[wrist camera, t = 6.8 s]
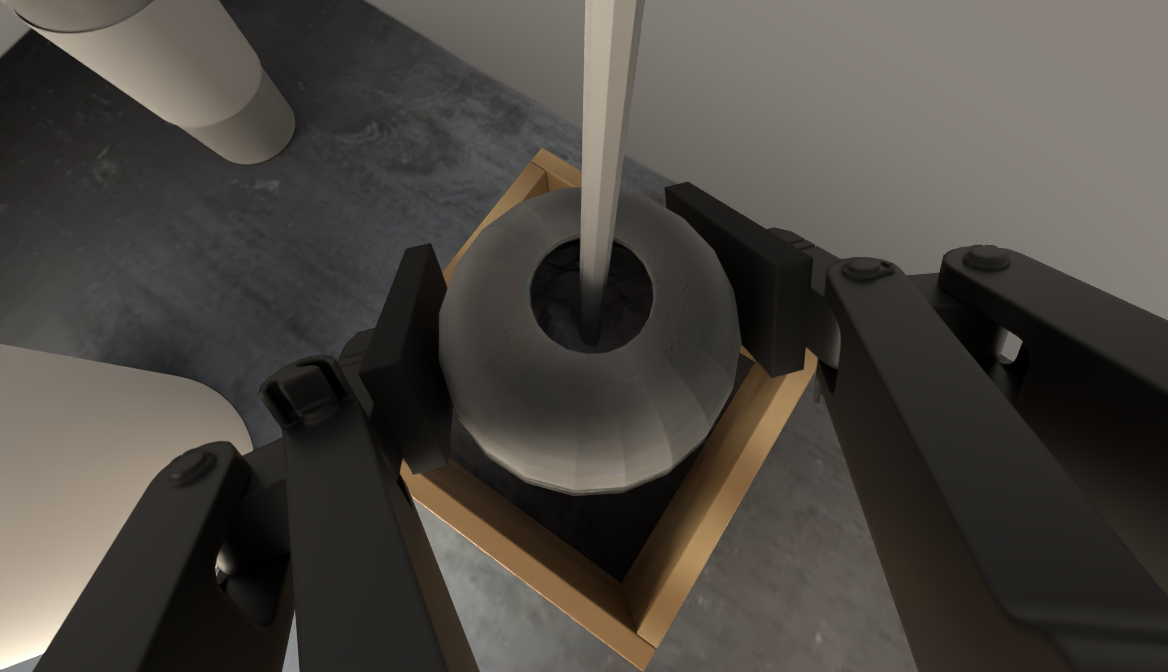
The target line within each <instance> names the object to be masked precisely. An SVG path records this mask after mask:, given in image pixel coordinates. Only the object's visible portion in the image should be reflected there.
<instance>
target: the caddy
mask: <svg viewBox="0 0 1168 672" xmlns="http://www.w3.org/2000/svg"><path fill="white" fill-rule="evenodd" d="M573 187H582V172H581V171H580V170H578V169H577V168H575V167H573V166H572V165H570V164H568V163H567V162H565V161H563V160H562V159H560V158H558V157H557V156H555V155H554V154H552V153H550V152H549V151H547V150H545V149H544V148H541V149H540V150H539V152H538V153H537V154H536V155H535V157H534V158H533V159H532V161H531V162H530V163H529V164H528V165H527V166H526V168H525V169H524V170H523V171H522V173H521V174H520V175H519V176H518V178H517V179H516V180H515V181H514V183H513V184H512V185H511V186H510V188H509V189H508V190H507V191H506V193H505V194H504V195H503V196H502V198H501V199H500V200H499V201H498V203H497V204H496V205H495V206H494V208H493V209H492V210H491V211H490V213H489V214H488V215H487V216H486V218H485V219H484V220H483V221H482V223H481V224H480V225H479V226H478V228H477V229H476V230H475V231H474V233H473V234H472V235H471V237H470V238H469V239H468V240H467V242H466V243H465V244H464V245H463V247H462V248H461V249H460V250H459V252H458V253H457V254H456V255H455V257H454V258H453V259H452V260H451V262H450V263H449V264H448V265H447V267H446V268H445V269H444V270H443V272H442V274H443V277H444V279H445V282H446V285H447V287H448V286H449V283H450V280H451V277H452V274H453V272H454V269H455V266H456V264H457V263H458V261H459V260H460V259H461V257H462V256H463V255H464V253H465V252H466V251H467V249H468V248H469V247H470V245H471V244H472V243H473V241H474V240H475V239H476V237H477V236H478V234H479V233H480V232H481V230H482V229H484V228H485V227H486V226H488V225H489V224H490V223H492V222H493V221H495V220H496V219H497V218H499V217H500V216H501V215H503V214H504V213H506V212H507V211H508V210H510V209H511V208H512V207H514V206H515V205H517V204H518V203H520V202H523V201H526V200H528V199H531V198H534V197H537V196H540V195H543V194H546V193H548V192H551V191H554V190H557V189H560V188H573ZM740 353H741V354H743V355H744V356H746V357H747V358H749V359H751V360H752V361H754V362H755V363H754V364H753V366H752V367H751V369H750V371H749V372H748V374H747V376H746V377H745V379H744V381H743V382H742V384H741V386H740V387H739V389H738V391H737V392H736V394H735V395H734V397H733V399H732V400H731V402H730V404H729V405H728V407H727V409H726V410H725V412H724V414H723V415H722V417H721V419H720V420H719V422H718V424H717V425H716V427H715V429H714V430H713V432H712V434H711V435H710V437H709V439H708V440H707V442H706V444H705V445H704V447H703V449H702V450H701V452H700V454H699V455H698V457H697V459H696V460H695V462H694V463H693V465H692V467H691V468H690V470H689V472H688V473H687V475H686V477H685V478H684V480H683V482H682V483H681V485H680V487H679V488H678V490H677V492H676V493H675V495H674V497H673V498H672V500H671V502H670V503H669V505H668V507H667V508H666V510H665V512H664V513H663V515H662V517H661V518H660V520H659V522H658V523H657V525H656V527H655V528H654V530H653V531H652V533H651V535H650V536H649V538H648V540H647V541H646V543H645V545H644V546H643V548H642V550H641V551H640V553H639V555H638V556H637V558H636V560H635V561H634V563H633V565H632V566H631V568H630V570H629V571H628V573H627V575H626V576H625V578H624V580H623V581H622V584H621V583H620V582H619V581H617V580H616V579H615V578H613V577H612V576H611V575H609V574H608V573H606V572H605V571H604V570H602V569H601V568H600V567H598V566H597V565H595V564H594V563H593V562H591V561H590V560H589V559H587V558H586V557H585V556H583V555H582V554H580V553H579V552H578V551H576V550H575V549H574V548H572V547H571V546H570V545H568V544H567V543H565V542H564V541H563V540H561V539H560V538H559V537H557V536H556V535H555V534H553V533H552V532H550V531H549V530H548V529H546V528H545V527H544V526H542V525H541V524H540V523H538V522H537V521H535V520H534V519H533V518H531V517H530V516H529V515H527V514H526V513H525V512H523V511H522V510H520V509H519V508H518V507H516V506H515V505H514V504H512V503H511V502H509V501H508V500H507V499H505V498H504V497H503V496H501V495H500V494H499V493H497V492H496V491H494V490H493V489H492V488H490V487H489V486H488V485H486V484H485V483H484V482H482V481H481V480H479V479H478V478H477V477H475V476H474V475H473V474H471V473H470V472H469V471H467V470H466V469H464V468H463V467H462V466H460V465H459V464H458V463H456V462H455V461H454V460H452V459H451V458H449V462H448V466H444V467H441V468H437V469H433V470H430V471H426V472H422V473H418V474H415V475H413V474H412V472H411V470H410V469H409V467H408V465H407V463H406V461H405V459H404V458H403V459H402V465H401V470H400V474H401V476H402V478H403V480H404V481H405V483H406V485H407V487H408V489H409V492H410V494H411V497H412V498H414V499H415V500H416V501H418V502H419V503H420V504H422V505H423V506H424V507H426V508H427V509H428V510H430V511H431V512H432V513H434V514H435V515H436V516H437V517H439V518H440V519H441V520H443V521H444V522H445V523H447V524H448V525H449V526H451V527H452V528H453V529H455V530H456V531H457V532H459V533H460V534H461V535H463V536H464V537H465V538H467V539H468V540H469V541H471V542H472V543H473V544H475V545H476V546H477V547H478V548H480V549H481V550H482V551H484V552H485V553H486V554H488V555H489V556H490V557H492V558H493V559H494V560H496V561H497V562H498V563H500V564H501V565H502V566H504V567H505V568H506V569H508V570H509V571H510V572H512V573H513V574H514V575H516V576H517V577H518V578H520V579H521V580H522V581H523V582H525V583H526V584H527V585H529V586H530V587H531V588H533V589H534V590H535V591H537V592H538V593H539V594H541V595H542V596H543V597H545V598H546V599H547V600H549V601H550V602H551V603H553V604H554V605H555V606H557V607H558V608H559V609H561V610H562V611H563V612H565V613H566V614H567V615H568V616H570V617H571V618H572V619H574V620H575V621H576V622H578V623H579V624H580V625H582V626H583V627H584V628H586V629H587V630H588V631H590V632H591V633H592V634H594V635H595V636H596V637H598V638H599V639H600V640H602V641H603V642H604V643H606V644H607V645H608V646H609V647H611V648H612V649H613V650H615V651H616V652H617V653H619V654H620V655H621V656H623V657H624V658H625V659H627V660H628V661H629V662H631V663H632V664H633V665H635V666H636V667H637V668H639V669H640V670H641V671H644V670H645V669H646V667H647V665H648V664H649V662H650V660H651V658H652V657H653V655H654V653H655V651H656V648H657V647H658V646H659V644H660V643H661V641H662V639H663V637H664V636H665V634H666V632H667V630H668V629H669V627H670V625H671V623H672V622H673V620H674V618H675V616H676V615H677V613H678V611H679V609H680V608H681V606H682V604H683V602H684V601H685V599H686V597H687V595H688V593H689V592H690V590H691V588H692V586H693V585H694V583H695V581H696V579H697V578H698V576H699V574H700V572H701V571H702V569H703V567H704V565H705V564H706V562H707V560H708V558H709V557H710V555H711V553H712V551H713V550H714V548H715V546H716V544H717V543H718V541H719V539H720V537H721V536H722V534H723V532H724V530H725V529H726V527H727V525H728V523H729V522H730V520H731V518H732V516H733V515H734V513H735V511H736V509H737V507H738V506H739V504H740V502H741V500H742V499H743V497H744V495H745V493H746V492H747V490H748V488H749V486H750V485H751V483H752V481H753V479H754V478H755V476H756V474H757V472H758V471H759V469H760V467H761V465H762V464H763V462H764V460H765V458H766V457H767V455H768V453H769V451H770V450H771V448H772V446H773V444H774V443H775V441H776V439H777V437H778V436H779V434H780V432H781V430H782V428H783V427H784V425H785V423H786V421H787V420H788V418H789V416H790V414H791V413H792V411H793V409H794V407H795V406H796V404H797V402H798V400H799V399H800V397H801V395H802V393H803V392H804V390H805V388H806V386H807V385H808V383H809V381H810V379H811V378H812V376H813V374H814V372H815V371H816V369H817V359H818V357H816V356H815V355H814V354H813V353H812V352H811V351H810V350H809V349H808V348H806V351H805V362H804V370H801V371H797V372H794V373H790V374H786V375H782V376H779V377H775V378H771V377H770V376H769V374H768V373H767V372H766V371H765V370H764V369H763V368H762V367H761V366H760V364H759V363H758V362H757V361H756V360H755V359H754V358H753V357H752V356H751V354H750V353H749V352H748V351H747V350H746V349H745V348H744V347H743V346H742V344H741V348H740Z"/></svg>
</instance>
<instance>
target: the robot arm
mask: <svg viewBox="0 0 1168 672" xmlns="http://www.w3.org/2000/svg"><path fill="white" fill-rule="evenodd" d="M665 196H666V208H667V209H668V210H670V211H672V212H674V213H675V214H677V215H679V216H681V217H682V218H684V219H685V220H686V221H687V222H688V223H689V225H690V226H691V227H692V228H693V229H694V230H695V231H696V232H697V233H698V234H699V235H700V236H701V237H702V238H703V239H704V240H705V241H706V242H707V243H708V244H709V246H710V247H711V248H712V249H713V250H714V251H715V253H716V255H717V257H718V259H719V261H720V263H721V265H722V267H723V269H724V271H725V273H726V276H727V278H728V280H729V282H730V284H731V286H732V288H733V290H734V294H735V299H736V306H737V313H738V320H739V327H740V334H741V341H742V343H741V344H742V346H743V347H744V348H745V349H746V350H747V351H748V352H749V353H750V354H751V356H752V357H753V358H754V359H755V360H756V361H757V362H758V363H759V364H760V366H761V367H762V368H763V369H764V370H765V371H766V372H767V373H768V374H769V376H770V377H771V378H775V377H779V376H782V375H786V374H790V373H794V372H797V371H801V370H804V362H805V351H806V348H808V349H809V350H810V351H811V352H812V353H813V354H814V355H815V356H816V357H818V359H817V369H816V379H815V388H814V403H819V399H820V395H821V394H823V397H824V399H825V402H826V405H827V408H828V411H829V414H830V417H831V420H832V423H833V426H834V428H835V431H836V434H837V437H838V440H839V443H840V446H841V449H842V452H843V455H844V457H845V460H846V463H847V466H848V469H849V472H850V475H851V478H852V481H853V484H854V486H855V489H856V492H857V495H858V498H859V501H860V504H861V507H862V510H863V513H864V515H865V518H866V521H867V524H868V527H869V530H870V533H871V536H872V539H873V542H874V544H875V547H876V550H877V553H878V556H879V559H880V562H881V565H882V568H883V570H884V573H885V576H886V579H887V582H888V585H889V588H890V591H891V594H892V597H893V599H894V602H895V605H896V608H897V611H898V614H899V617H900V620H901V623H902V626H903V628H904V631H905V634H906V637H907V640H908V643H909V646H910V649H911V652H912V655H913V657H914V660H915V663H916V666H917V669H918V672H1168V321H1167V320H1166V319H1163V318H1161V317H1159V316H1157V315H1154V314H1152V313H1150V312H1148V311H1146V310H1144V309H1141V308H1139V307H1137V306H1135V305H1133V304H1130V303H1128V302H1126V301H1124V300H1122V299H1119V298H1117V297H1115V296H1113V295H1111V294H1109V293H1106V292H1104V291H1102V290H1100V289H1098V288H1096V287H1093V286H1091V285H1089V284H1087V283H1085V282H1082V281H1080V280H1078V279H1076V278H1074V277H1071V276H1069V275H1067V274H1065V273H1062V272H1060V271H1058V270H1056V269H1054V268H1052V267H1050V266H1047V265H1045V264H1043V263H1041V262H1039V261H1036V260H1034V259H1032V258H1030V257H1028V256H1026V255H1023V254H1021V253H1018V252H1015V251H1012V250H1009V249H1004V248H998V247H996V246H993V245H985V246H983V245H973V246H970V247H960V248H957V249H953V250H950V251H948V252H947V253H946V254H945V255H944V256H943V260H942V264H941V269H940V272H939V273H931V274H919V275H907V276H906V275H905V274H904V272H903V271H902V270H901V269H900V268H899V267H898V266H896V265H895V264H893V263H891V262H888V261H885V260H882V259H876V258H869V257H854V258H847V259H839V258H838V257H836V256H834V255H832V254H830V253H829V252H827V251H825V250H823V249H822V248H820V247H818V246H816V247H815V244H813V243H811V242H809V241H808V240H807V241H805V239H804V238H802V237H800V236H799V235H797V234H795V233H793V232H790V231H787V230H782V229H778V228H771V229H765V228H763V227H762V226H760V225H758V224H757V223H755V222H753V221H752V220H750V219H749V218H747V217H745V216H744V215H742V214H740V213H739V212H737V211H735V210H734V209H732V208H730V207H729V206H727V205H726V204H724V203H722V202H721V201H719V200H717V199H716V198H714V197H712V196H711V195H709V194H707V193H706V192H704V191H702V190H701V189H699V188H698V187H696V186H694V185H693V184H691V183H689V182H685V183H680V184H676V185H672V186H668V187H665ZM447 289H448V287H447V285H446V282H445V279H444V277H443V274H442V271H441V269H440V266H439V263H438V260H437V258H436V255H435V252H434V250H433V247H432V244H431V243H429V244H424V245H420V246H416V247H412V248H408V249H406V250H405V252H404V255H403V258H402V260H401V263H400V265H399V268H398V271H397V273H396V276H395V278H394V281H393V283H392V286H391V289H390V291H389V294H388V296H387V299H386V302H385V304H384V307H383V309H382V312H381V314H380V317H379V320H378V322H377V325H376V327H375V328H373V329H369V330H365V331H361V332H358V333H357V334H356V335H355V336H354V337H353V338H352V339H351V340H350V341H349V342H348V343H346V344H345V346H344V348H343V350H342V353H341V355H340V359H338V361H336V360H335V359H334V358H333V357H332V356H328V355H317V356H310V357H307V358H304V359H301V360H298V361H295V362H293V363H291V364H289V365H287V366H285V367H283V368H281V369H279V370H278V371H277V372H275V373H274V374H272V375H271V376H269V377H268V378H267V379H266V380H265V381H264V382H263V383H262V385H261V386H260V388H259V390H258V393H257V394H258V396H259V397H260V399H261V400H262V401H263V403H264V404H265V406H266V407H267V409H268V410H269V411H270V413H271V414H272V416H273V417H274V418H275V420H276V421H277V423H278V424H279V426H280V427H281V428H282V438H280V439H278V440H276V441H274V442H272V443H269V444H267V445H265V446H263V447H260V448H258V449H256V450H254V451H251V452H249V453H247V454H245V455H243V456H242V455H241V454H240V452H239V451H238V450H237V449H236V447H235V446H234V445H233V444H232V443H231V442H229V441H216V442H211V443H207V444H204V445H202V446H199V447H197V448H193V449H190V450H188V451H186V452H184V453H183V455H179V456H178V457H176V458H174V459H173V460H172V461H171V463H170V464H168V465H167V466H166V467H165V468H163V469H162V470H161V471H160V472H159V473H158V474H157V475H156V476H155V478H154V479H153V480H152V481H151V482H150V484H149V485H148V487H147V488H146V490H145V492H144V493H143V495H142V497H141V498H140V500H139V501H138V503H137V505H136V506H135V508H134V509H133V511H132V513H131V514H130V516H129V517H128V519H127V521H126V522H125V524H124V525H123V527H122V529H121V530H120V532H119V533H118V535H117V537H116V538H115V540H114V542H113V543H112V545H111V546H110V548H109V550H108V551H107V553H106V554H105V556H104V558H103V559H102V561H101V562H100V564H99V566H98V567H97V569H96V570H95V572H94V574H93V575H92V577H91V578H90V580H89V582H88V583H87V585H86V587H85V588H84V590H83V591H82V593H81V595H80V596H79V598H78V599H77V601H76V603H75V604H74V606H73V607H72V609H71V611H70V612H69V614H68V615H67V617H66V619H65V620H64V622H63V623H62V625H61V627H60V628H59V630H58V632H57V633H56V635H55V636H54V638H53V640H52V641H51V643H50V644H49V646H48V648H47V649H46V651H45V652H44V654H43V656H42V657H41V659H40V660H39V662H38V664H37V665H36V667H35V668H34V670H33V672H282V669H283V664H284V659H285V654H286V649H287V644H288V640H289V635H290V630H291V625H292V620H293V615H294V611H295V614H296V628H297V642H298V655H299V669H300V672H480V671H479V669H478V666H477V663H476V661H475V658H474V656H473V653H472V651H471V648H470V646H469V643H468V640H467V638H466V635H465V633H464V630H463V628H462V625H461V622H460V620H459V617H458V615H457V612H456V610H455V607H454V604H453V602H452V599H451V597H450V594H449V592H448V589H447V587H446V584H445V581H444V579H443V576H442V574H441V571H440V569H439V566H438V563H437V561H436V558H435V556H434V553H433V551H432V548H431V546H430V543H429V540H428V538H427V535H426V533H425V530H424V528H423V525H422V522H421V520H420V517H419V515H418V512H417V510H416V507H415V505H414V502H413V499H412V497H411V494H410V492H409V489H408V487H407V485H406V483H405V481H404V480H403V478H402V476H401V474H400V470H401V465H402V459H403V458H404V459H405V461H406V463H407V465H408V467H409V469H410V470H411V472H412V474H413V475H415V474H418V473H422V472H426V471H430V470H433V469H437V468H441V467H444V466H448V462H449V450H450V437H451V424H452V412H453V403H452V399H451V396H450V393H449V390H448V387H447V384H446V381H445V378H444V375H443V372H442V369H441V366H440V363H439V312H440V309H441V306H442V304H443V301H444V298H445V295H446V292H447ZM1008 331H1010V332H1012V333H1013V334H1015V335H1016V336H1018V337H1019V338H1020V339H1021V340H1022V341H1023V342H1022V345H1021V348H1020V350H1019V353H1018V355H1017V358H1016V359H1015V361H1014V362H1013V361H1011V360H1009V359H1007V358H1006V357H1004V356H1003V355H1002V354H1001V351H1002V348H1003V346H1004V343H1005V340H1006V337H1007V334H1008ZM216 565H217V566H218V567H219V568H220V569H219V572H218V575H217V577H216V572H215V567H216Z"/></svg>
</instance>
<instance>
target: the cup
mask: <svg viewBox="0 0 1168 672" xmlns="http://www.w3.org/2000/svg"><path fill="white" fill-rule="evenodd" d="M0 1H1V2H3V3H4V4H6V5H7V6H8V7H10V8H11V9H12V11H13V12H14V14H15V15H16V16H17V17H18V18H19V19H21V20H22V21H23V22H24V23H26V24H27V25H28V26H30V27H31V28H33V29H34V30H35V31H37V32H38V33H40V34H41V35H43V36H44V37H46V38H47V39H48V40H50V41H51V42H53V43H54V44H56V45H57V46H59V47H60V48H61V49H63V50H64V51H66V52H67V53H69V54H70V55H72V56H73V57H74V58H76V59H77V60H79V61H80V62H82V63H83V64H84V65H86V66H87V67H89V68H90V69H92V70H93V71H95V72H96V73H97V74H99V75H100V76H102V77H103V78H105V79H106V80H108V81H109V82H110V83H112V84H113V85H115V86H116V87H118V88H119V89H121V90H122V91H123V92H125V93H126V94H128V95H129V96H131V97H132V98H134V99H135V100H136V101H138V102H139V103H141V104H142V105H144V106H145V107H146V108H148V109H149V110H151V111H152V112H154V113H155V114H157V115H158V116H159V117H161V118H162V119H164V120H166V121H168V122H170V123H172V124H175V125H178V126H179V127H180V128H182V129H183V130H185V131H186V132H187V133H189V134H190V135H192V136H193V137H195V138H196V139H197V140H199V141H200V142H202V143H203V144H205V145H206V146H207V147H209V148H210V149H212V150H213V151H214V152H216V153H217V154H219V155H220V156H222V157H223V158H224V159H226V160H228V161H230V162H233V163H237V164H256V163H260V162H264V161H266V160H268V159H271V158H272V157H274V156H276V155H277V154H279V153H280V152H281V151H282V150H283V149H284V148H285V147H286V146H287V144H288V143H289V142H290V140H291V138H292V136H293V133H294V129H295V116H294V113H293V110H292V108H291V107H290V105H289V104H288V103H287V101H286V100H285V98H284V97H283V96H282V94H281V93H280V91H279V90H278V89H277V87H276V86H275V84H274V83H273V82H272V80H271V79H270V77H269V76H268V75H267V73H266V72H265V70H264V69H263V68H262V66H261V64H260V60H259V58H258V56H257V54H256V53H255V51H254V50H253V48H252V47H251V46H250V44H249V43H248V41H247V40H246V38H245V37H244V36H243V34H242V33H241V31H240V30H239V29H238V27H237V26H236V24H235V23H234V21H233V20H232V19H231V17H230V16H229V14H228V13H227V11H226V10H225V9H224V7H223V6H222V4H221V3H220V1H219V0H0Z"/></svg>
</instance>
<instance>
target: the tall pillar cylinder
mask: <svg viewBox="0 0 1168 672" xmlns="http://www.w3.org/2000/svg"><path fill="white" fill-rule="evenodd" d="M216 441H229V442H231V443H232V444H233V445H234V446H235V447H236V449H237V450H238V451H239V452H240V454H241V455H242V456H243V455H245V454H247V453H249V452H251V451H253V446H252V442H251V439H250V436H249V433H248V430H247V428H246V426H245V424H244V422H243V420H242V419H241V417H240V415H239V414H238V413H237V411H236V410H235V409H234V407H233V406H232V405H231V404H230V403H229V402H228V401H227V400H226V399H225V398H224V397H223V396H221V395H220V394H219V393H217V392H216V391H214V390H213V389H211V388H210V387H208V386H206V385H204V384H201V383H199V382H197V381H194V380H191V379H187V378H183V377H178V376H173V375H168V374H162V373H157V372H151V371H146V370H140V369H135V368H129V367H124V366H118V365H113V364H107V363H102V362H96V361H91V360H85V359H80V358H74V357H69V356H63V355H58V354H52V353H47V352H41V351H36V350H30V349H25V348H19V347H14V346H8V345H3V344H0V670H1V669H3V668H6V667H9V666H11V665H14V664H17V663H19V662H22V661H25V660H27V659H30V658H33V657H35V656H38V655H41V654H43V653H44V652H45V651H46V649H47V648H48V646H49V644H50V643H51V641H52V640H53V638H54V636H55V635H56V633H57V632H58V630H59V628H60V627H61V625H62V623H63V622H64V620H65V619H66V617H67V615H68V614H69V612H70V611H71V609H72V607H73V606H74V604H75V603H76V601H77V599H78V598H79V596H80V595H81V593H82V591H83V590H84V588H85V587H86V585H87V583H88V582H89V580H90V578H91V577H92V575H93V574H94V572H95V570H96V569H97V567H98V566H99V564H100V562H101V561H102V559H103V558H104V556H105V554H106V553H107V551H108V550H109V548H110V546H111V545H112V543H113V542H114V540H115V538H116V537H117V535H118V533H119V532H120V530H121V529H122V527H123V525H124V524H125V522H126V521H127V519H128V517H129V516H130V514H131V513H132V511H133V509H134V508H135V506H136V505H137V503H138V501H139V500H140V498H141V497H142V495H143V493H144V492H145V490H146V488H147V487H148V485H149V484H150V482H151V481H152V480H153V479H154V478H155V476H156V475H157V474H158V473H159V472H160V471H161V470H162V469H163V468H165V467H166V466H167V465H168V464H170V463H171V461H172V460H173V459H174V458H176V457H178V456H179V455H183V453H184V452H186V451H188V450H190V449H193V448H197V447H199V446H202V445H204V444H207V443H211V442H216ZM217 567H218V566H217V565H216V567H215V569H216V568H217Z"/></svg>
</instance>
